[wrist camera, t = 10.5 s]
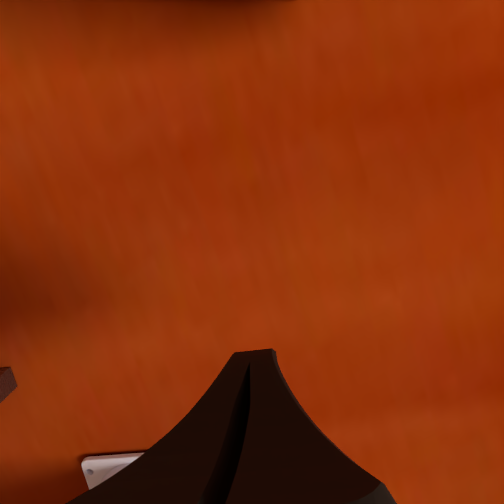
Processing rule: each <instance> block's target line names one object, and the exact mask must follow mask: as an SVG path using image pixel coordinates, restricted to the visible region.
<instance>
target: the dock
mask: <svg viewBox="0 0 504 504" xmlns="http://www.w3.org/2000/svg"><path fill="white" fill-rule="evenodd" d="M16 387H17V384H16V381H15V379H14V376H13V373H12V371H11V368H10V367H7V368H0V403H1V402H2V401H3V400H4V399H5V398H6V397H7V396H8V395H9V394H10V393H11V392H12V391H13V390H14V389H15V388H16Z"/></svg>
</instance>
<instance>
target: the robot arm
mask: <svg viewBox="0 0 504 504" xmlns="http://www.w3.org/2000/svg"><path fill="white" fill-rule="evenodd" d="M81 466H82V469H83V472H84V475H85V478H86V481H87V484H88V487H89V490H88V491H87V492H85V493H83V494H82V495H80V496H78V497H76V498H75V499H73V500H71V501H69V502H68V503H66V504H397V503H396V502H395V500H394V499H393V497H392V495H391V494H390V492H389V491H388V489H387V488H386V486H385V485H384V484H383V483H382V482H381V481H379V480H378V479H376V478H375V477H374V476H372V475H371V474H369V473H368V472H366V471H365V470H364V469H362V468H361V467H360V466H358V465H357V464H356V463H355V462H353V461H352V460H351V459H350V458H349V457H348V456H346V455H345V454H344V453H343V452H342V451H341V450H340V449H339V448H338V447H337V446H336V445H335V444H334V443H333V442H332V441H330V440H329V439H328V438H327V437H326V436H325V435H324V434H323V433H322V431H321V430H320V429H319V428H318V427H317V426H316V425H315V424H314V422H313V421H312V420H311V419H310V417H309V416H308V415H307V414H306V412H305V411H304V410H303V408H302V407H301V405H300V404H299V402H298V401H297V399H296V398H295V396H294V395H293V393H292V392H291V390H290V388H289V386H288V384H287V383H286V381H285V379H284V377H283V375H282V373H281V370H280V368H279V365H278V362H277V356H276V351H274V350H273V349H263V350H253V351H244V352H235V353H234V354H233V355H232V356H231V357H230V359H229V360H228V362H227V363H226V365H225V366H224V368H223V369H222V371H221V372H220V374H219V375H218V376H217V378H216V379H215V380H214V382H213V383H212V385H211V386H210V387H209V389H208V390H207V391H206V392H205V394H204V395H203V396H202V397H201V399H200V400H199V401H198V402H197V403H196V405H195V406H194V407H193V408H192V409H191V410H190V412H189V413H188V414H187V415H186V416H185V417H184V418H183V419H182V420H181V421H180V422H179V423H178V424H177V425H176V426H175V427H174V428H173V429H172V430H171V431H170V432H169V433H167V434H166V435H165V436H164V437H163V438H162V439H160V440H159V441H158V442H157V443H156V444H154V445H153V446H152V447H151V448H150V449H148V450H147V451H146V452H145V453H131V454H118V455H104V456H90V457H86V458H84V460H83V461H82V464H81Z"/></svg>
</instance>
